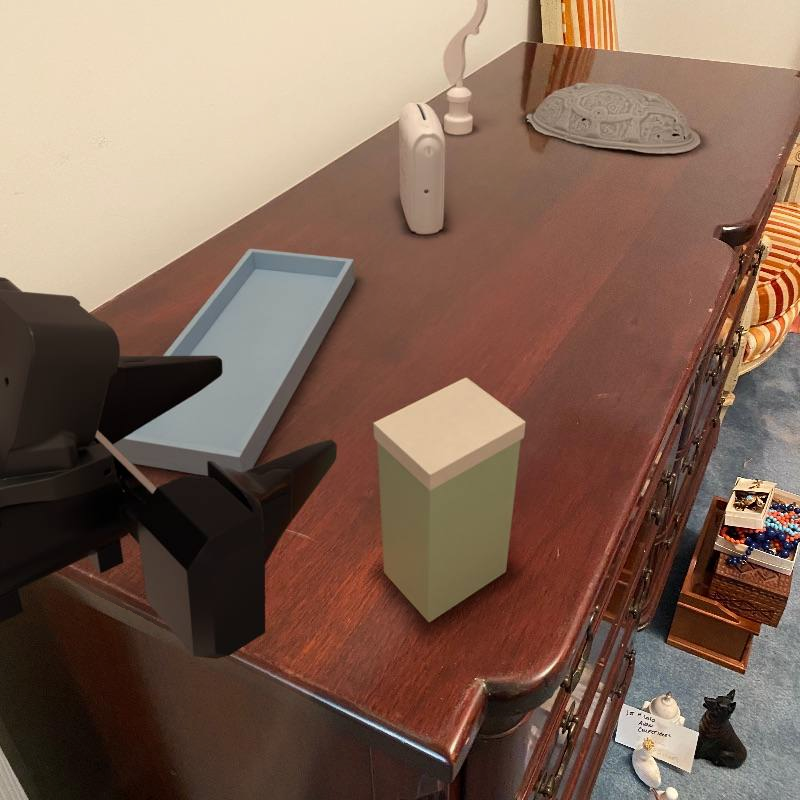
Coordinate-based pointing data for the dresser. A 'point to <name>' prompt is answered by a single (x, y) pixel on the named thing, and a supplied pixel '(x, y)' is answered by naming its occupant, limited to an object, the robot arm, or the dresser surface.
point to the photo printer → (422, 168)
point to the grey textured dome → (614, 119)
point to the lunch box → (447, 494)
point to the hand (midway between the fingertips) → (273, 404)
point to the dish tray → (246, 360)
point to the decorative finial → (460, 75)
